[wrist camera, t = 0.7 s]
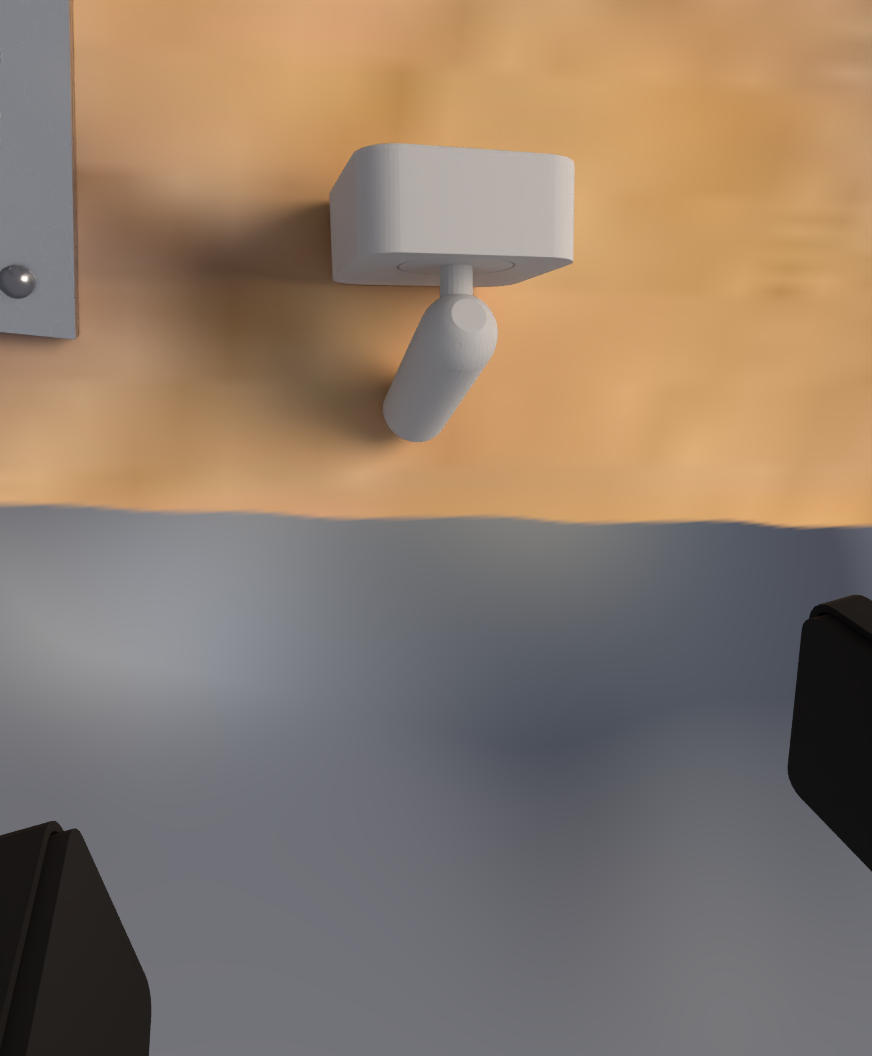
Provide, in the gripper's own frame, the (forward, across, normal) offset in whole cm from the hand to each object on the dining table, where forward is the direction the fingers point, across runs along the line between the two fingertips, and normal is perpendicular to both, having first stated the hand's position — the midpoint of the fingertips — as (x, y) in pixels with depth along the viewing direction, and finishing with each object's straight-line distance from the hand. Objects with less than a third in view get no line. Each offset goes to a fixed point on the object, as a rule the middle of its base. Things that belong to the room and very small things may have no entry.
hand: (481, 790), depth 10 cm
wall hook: (+28, -6, -1) cm, 29 cm away
